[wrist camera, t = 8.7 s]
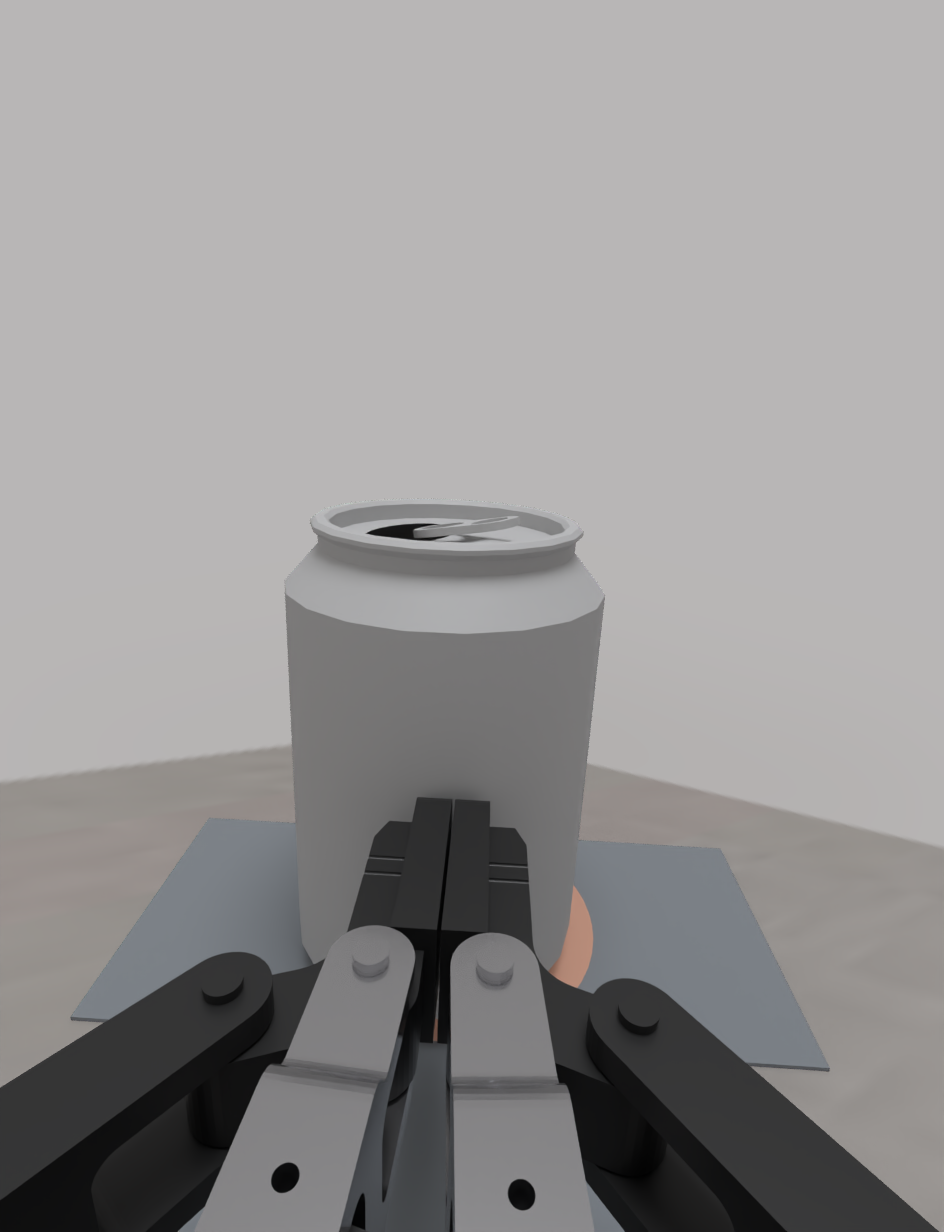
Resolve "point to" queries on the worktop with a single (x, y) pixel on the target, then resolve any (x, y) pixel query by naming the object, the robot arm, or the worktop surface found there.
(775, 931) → the worktop surface
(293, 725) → the can
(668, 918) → the t mat
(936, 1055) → the worktop surface
